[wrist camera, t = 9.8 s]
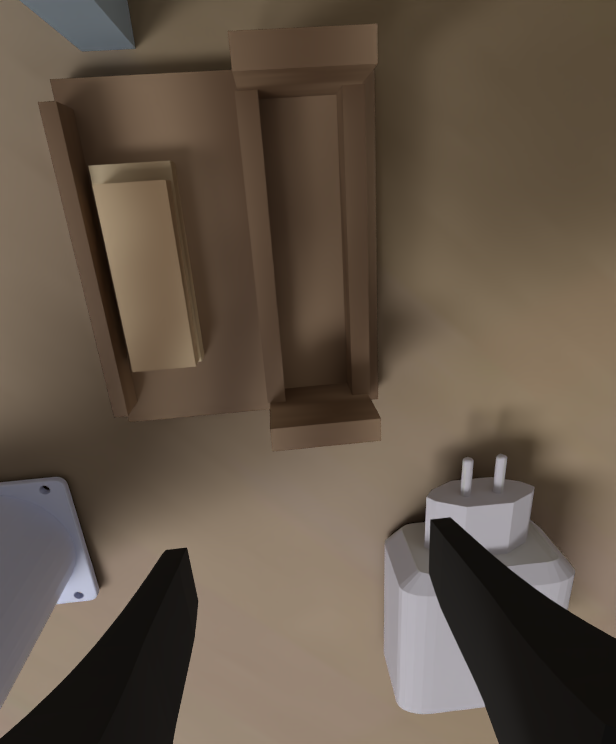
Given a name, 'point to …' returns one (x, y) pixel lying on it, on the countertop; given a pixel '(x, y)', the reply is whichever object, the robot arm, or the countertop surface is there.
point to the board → (88, 22)
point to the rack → (246, 227)
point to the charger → (417, 596)
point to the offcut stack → (149, 263)
